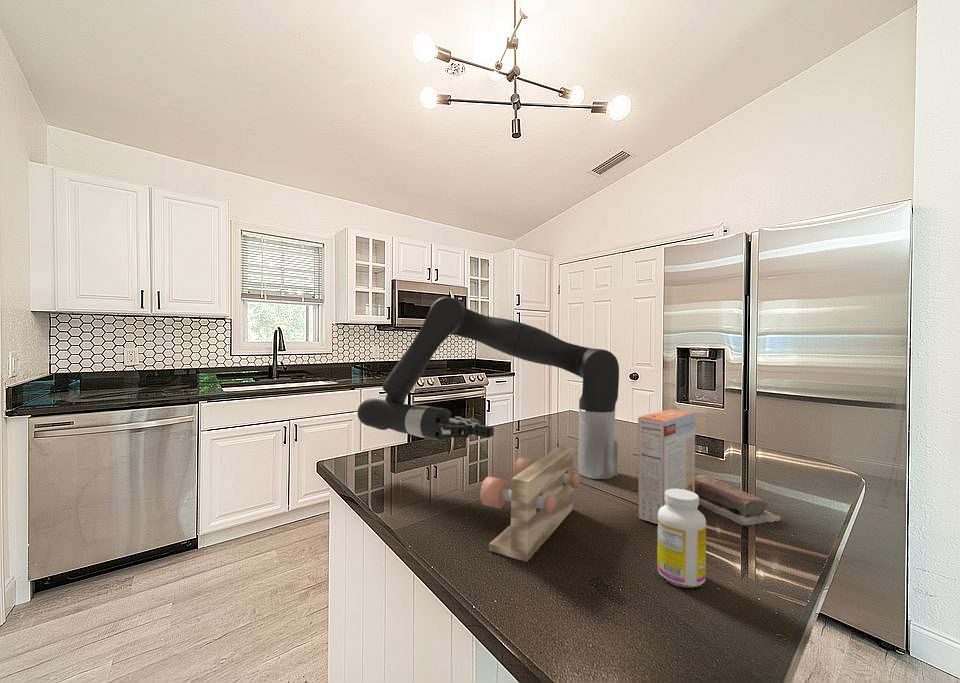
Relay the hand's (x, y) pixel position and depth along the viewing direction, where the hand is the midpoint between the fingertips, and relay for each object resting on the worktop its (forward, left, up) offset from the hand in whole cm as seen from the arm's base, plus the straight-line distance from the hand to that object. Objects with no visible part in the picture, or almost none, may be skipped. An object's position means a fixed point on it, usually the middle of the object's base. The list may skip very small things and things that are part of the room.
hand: (492, 432), depth 92 cm
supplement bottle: (-20, +35, -15) cm, 43 cm away
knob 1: (0, +19, -10) cm, 21 cm away
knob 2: (-9, +9, -10) cm, 16 cm away
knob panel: (-5, +14, -15) cm, 21 cm away
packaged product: (-49, +14, -16) cm, 53 cm away
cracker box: (-33, +14, -15) cm, 40 cm away
